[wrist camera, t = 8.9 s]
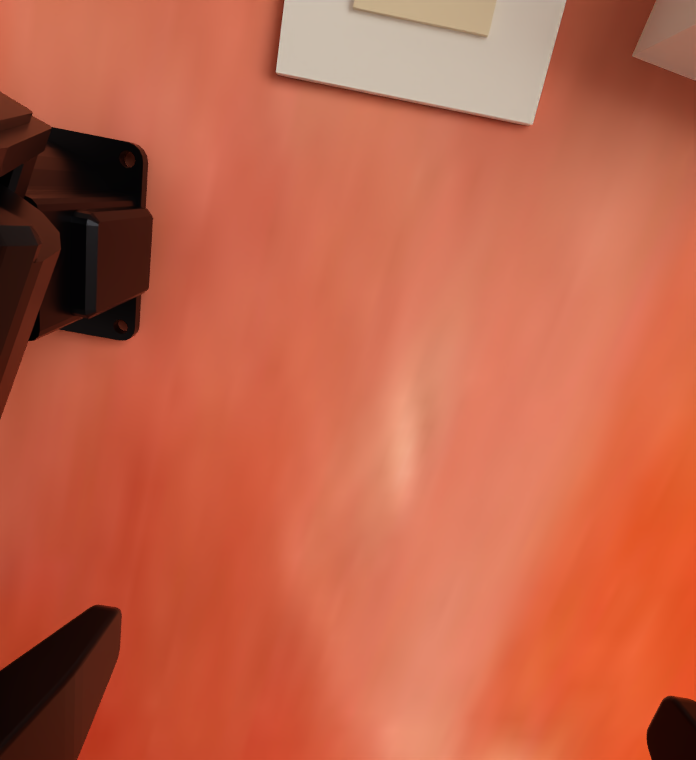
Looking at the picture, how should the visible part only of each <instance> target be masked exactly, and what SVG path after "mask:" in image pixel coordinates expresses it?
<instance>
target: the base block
mask: <svg viewBox="0 0 696 760" xmlns="http://www.w3.org/2000/svg"><path fill="white" fill-rule="evenodd" d="M632 57H635V58H637V59H640V60H643V61H645V62H648V63H650V64H653V65H656V66H658V67H661V68H663V69H666V70H669V71H671V72H674V73H676V74H679V75H682V76H684V77H687V78H689V79H692V80H695V81H696V0H656V2H655V4H654V6H653V9H652V11H651V13H650V15H649V18H648V20H647V22H646V25H645V27H644V29H643V31H642V34H641V36H640V38H639V40H638V43H637V45H636V47H635V50H634V52H633V54H632Z"/></svg>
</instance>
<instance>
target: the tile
mask: <svg viewBox="0 0 696 760" xmlns="http://www.w3.org/2000/svg"><path fill="white" fill-rule="evenodd" d="M565 4H566V0H285V1H284V9H283V17H282V25H281V33H280V42H279V50H278V58H277V66H276V73H277V75H280V76H285V77H290V78H295V79H300V80H305V81H310V82H314V83H319V84H324V85H329V86H334V87H339V88H344V89H349V90H354V91H359V92H364V93H369V94H374V95H379V96H383V97H388V98H393V99H398V100H403V101H408V102H413V103H418V104H423V105H428V106H433V107H438V108H443V109H447V110H452V111H457V112H462V113H467V114H472V115H477V116H482V117H487V118H492V119H497V120H502V121H507V122H512V123H516V124H521V125H526V126H530V125H533V121H534V118H535V114H536V110H537V107H538V103H539V99H540V96H541V92H542V88H543V85H544V81H545V77H546V74H547V70H548V66H549V63H550V59H551V55H552V52H553V48H554V44H555V41H556V37H557V33H558V30H559V26H560V22H561V18H562V15H563V11H564V7H565Z"/></svg>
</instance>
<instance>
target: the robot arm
mask: <svg viewBox="0 0 696 760" xmlns="http://www.w3.org/2000/svg"><path fill="white" fill-rule="evenodd" d="M128 152H132V153H133V155H134V156H135V160H136V161H135V164H134V166H132V167H131V168H130V167H128V166H127V164H126V163H125V159H124V158H125V155H126V153H128ZM147 172H148V159H147V155H146V153H145V151H144V150H143V149H142V148H141V147H140V146H139V145H136V144H134V143H130V142H125V141H120V140H115V139H110V138H105V137H99V136H94V135H89V134H84V133H79V132H74V131H69V130H64V129H58V128H53V127H51V126H49V125H48V124H46V123H44V122H42V121H41V120H39V119H37V118H35V117H33V116H32V111H31V110H29V109H28V108H26V107H25V106H23V105H21V104H20V103H18V102H16V101H15V100H13V99H11V98H10V97H8V96H6V95H5V94H3V93H2V92H0V419H1V416H2V413H3V410H4V407H5V405H6V402H7V399H8V396H9V393H10V391H11V388H12V385H13V382H14V379H15V377H16V374H17V371H18V368H19V365H20V363H21V360H22V357H23V354H24V351H25V349H26V346H27V343H28V341H34V340H36V339H38V338H40V337H43V336H45V335H47V334H49V333H51V332H53V331H56V330H58V329H60V330H65V331H71V332H76V333H82V334H87V335H93V336H99V337H104V338H110V339H115V340H127V339H129V338H131V337H133V336H134V335H135V334H136V333H137V332H138V329H139V322H140V304H141V294H143V293H144V292H145V291H147V290H148V288H149V276H150V258H151V241H152V224H153V217H152V215H151V214H150V212H149V211H148V209H146V191H147ZM119 320H123V321H125V322H126V324H127V326H128V329H127V331H124V330H122V329H121V328H120V327H119V325H118V321H119ZM121 619H122V614H121V610H120V609H118V608H116V607H110V606H103V605H94V606H92V607H90V608H89V609H87V610H86V611H84V612H83V613H82V614H80V615H79V616H77V617H76V618H74V619H73V620H72V621H70V622H69V623H67V624H66V625H64V626H63V627H62V628H60V629H59V630H57V631H56V632H55V633H53V634H52V635H50V636H49V637H47V638H46V639H45V640H43V641H42V642H40V643H39V644H37V645H36V646H35V647H33V648H32V649H30V650H29V651H28V652H26V653H25V654H23V655H22V656H20V657H19V658H18V659H16V660H15V661H13V662H12V663H11V664H9V665H8V666H6V667H5V668H3V669H2V670H1V671H0V760H77V758H78V756H79V753H80V751H81V749H82V746H83V744H84V741H85V739H86V736H87V734H88V731H89V729H90V726H91V724H92V721H93V719H94V717H95V714H96V712H97V709H98V707H99V704H100V702H101V699H102V697H103V694H104V692H105V689H106V687H107V684H108V682H109V679H110V677H111V674H112V672H113V669H114V667H115V664H116V662H117V659H118V655H119V650H120V638H121ZM647 745H648V749H649V753H650V756H651V759H652V760H696V702H695V701H693V700H691V699H687V698H681V697H675V696H667V697H666V698H664V699H663V700H662V702H661V704H660V706H659V708H658V710H657V712H656V713H655V715H654V717H653V719H652V721H651V723H650V725H649V727H648V730H647Z"/></svg>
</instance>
